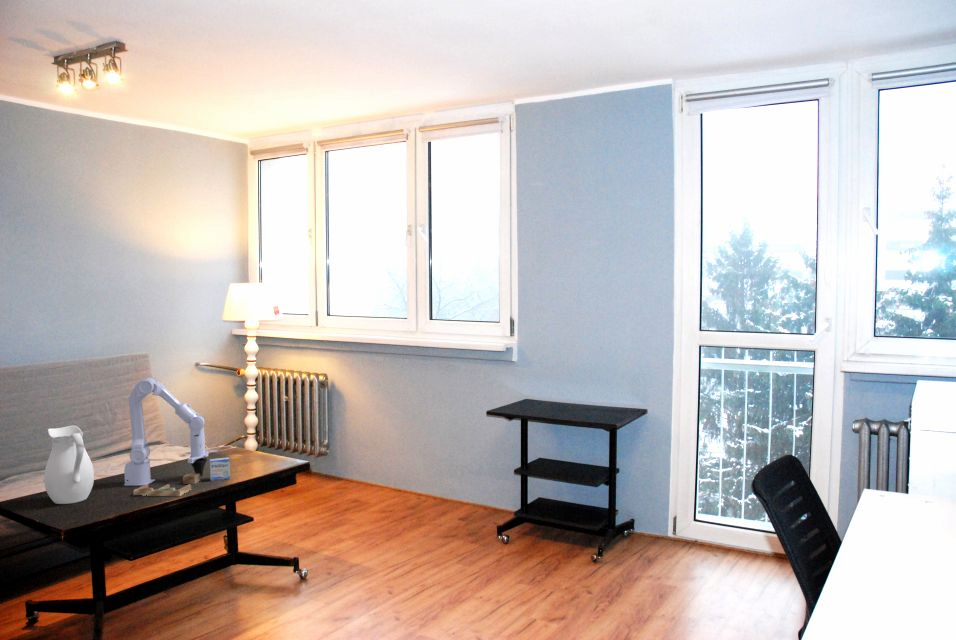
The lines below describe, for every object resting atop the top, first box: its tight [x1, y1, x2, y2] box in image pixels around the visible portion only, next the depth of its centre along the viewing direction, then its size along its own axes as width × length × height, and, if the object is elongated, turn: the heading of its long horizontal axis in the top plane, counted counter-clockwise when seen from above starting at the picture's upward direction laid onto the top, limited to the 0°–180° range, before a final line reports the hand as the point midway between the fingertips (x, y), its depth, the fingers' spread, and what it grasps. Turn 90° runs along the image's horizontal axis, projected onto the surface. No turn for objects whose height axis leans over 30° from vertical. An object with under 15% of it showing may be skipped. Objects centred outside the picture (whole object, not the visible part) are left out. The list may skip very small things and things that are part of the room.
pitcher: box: [43, 424, 95, 505], centre depth 287 cm, size 24×17×28 cm
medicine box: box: [209, 456, 231, 482], centre depth 317 cm, size 8×4×9 cm, turn 112°
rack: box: [132, 483, 192, 497], centre depth 298 cm, size 19×9×3 cm, turn 84°
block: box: [182, 472, 201, 485], centre depth 312 cm, size 5×5×4 cm
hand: (199, 476), depth 319 cm, fingers closed
